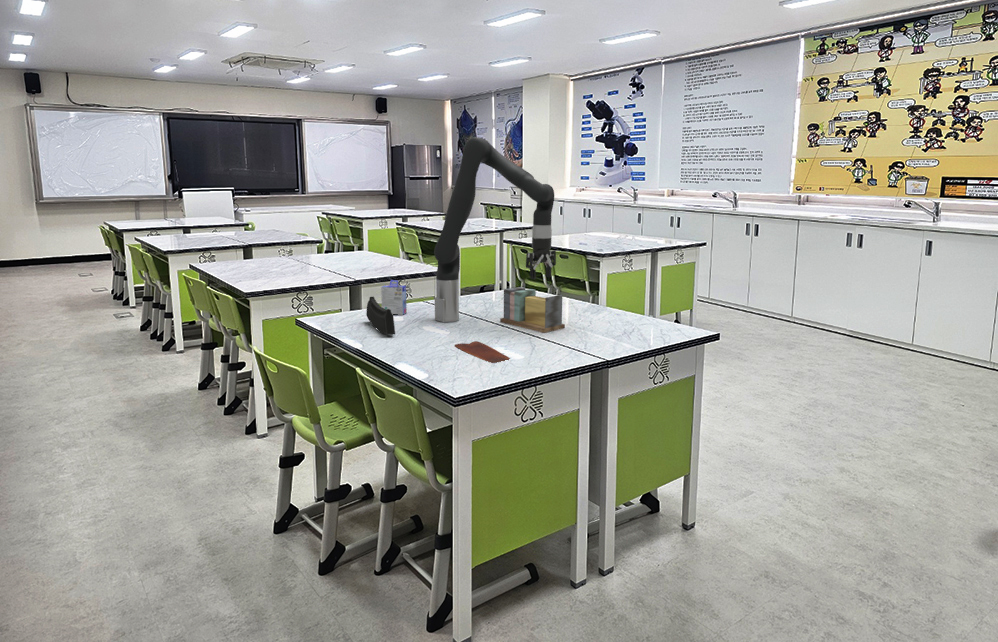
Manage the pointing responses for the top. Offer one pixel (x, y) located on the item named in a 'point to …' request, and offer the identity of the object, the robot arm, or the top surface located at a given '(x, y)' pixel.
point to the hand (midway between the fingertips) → (540, 277)
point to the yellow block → (535, 310)
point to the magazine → (380, 317)
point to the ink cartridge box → (394, 298)
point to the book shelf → (516, 310)
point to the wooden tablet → (482, 351)
